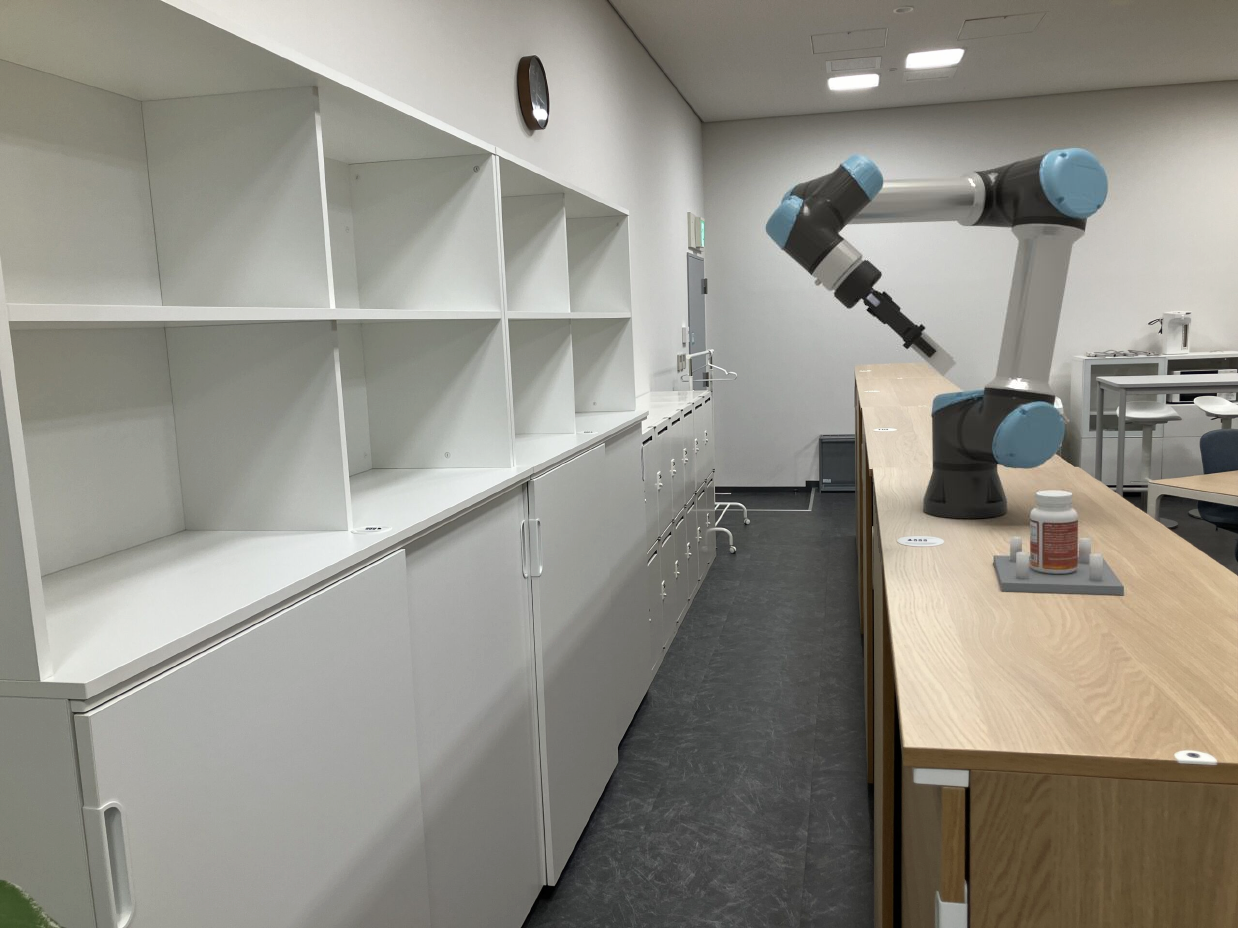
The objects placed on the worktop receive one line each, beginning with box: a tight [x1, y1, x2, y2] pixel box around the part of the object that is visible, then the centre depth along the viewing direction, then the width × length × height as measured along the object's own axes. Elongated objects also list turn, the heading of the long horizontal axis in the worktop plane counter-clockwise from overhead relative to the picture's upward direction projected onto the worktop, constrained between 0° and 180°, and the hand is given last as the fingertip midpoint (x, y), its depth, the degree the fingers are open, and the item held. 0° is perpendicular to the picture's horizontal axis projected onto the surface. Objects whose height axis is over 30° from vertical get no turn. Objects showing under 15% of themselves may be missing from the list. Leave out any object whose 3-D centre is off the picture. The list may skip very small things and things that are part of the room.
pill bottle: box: [1029, 489, 1079, 574], centre depth 132 cm, size 6×6×11 cm
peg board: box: [993, 536, 1125, 596], centre depth 132 cm, size 15×15×5 cm
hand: (948, 367), depth 146 cm, fingers open, 13 cm apart
